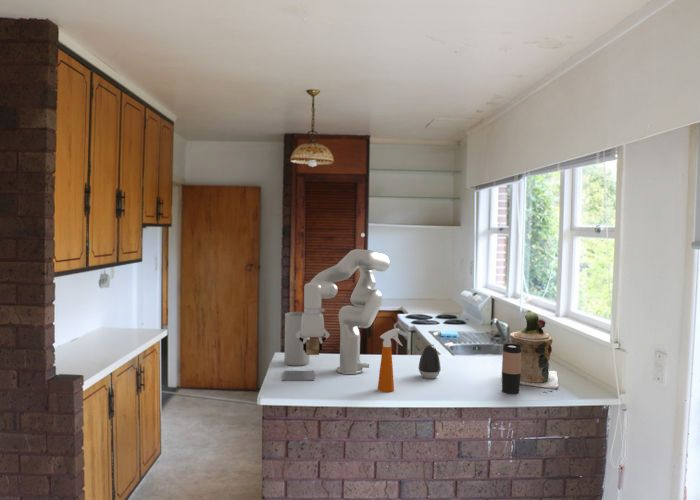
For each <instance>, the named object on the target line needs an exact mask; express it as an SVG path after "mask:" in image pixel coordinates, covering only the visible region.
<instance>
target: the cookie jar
mask: <svg viewBox="0 0 700 500" xmlns="http://www.w3.org/2000/svg"><path fill="white" fill-rule="evenodd" d="M524 319H525V320H526V321H525V322H526V326H525V328H522V329H521V330H519V331H514V332H511V333H510V334H509V338H510V344H517V345H520V346H521V374H520V386H521V385H522V386H527V387H528V386H530V387H537V388H544V389H550V390H553V389H558V387H559V386H560V383H559V377H558V372H557V370H550V362H549V361H550V360H551V359H550V357H551V354H552V351H553V349H552V348H553V347H552V343H553V338H552V337H551V335H550V333H546V332H545V331H544V330H543V328H545V326H546V324H547V323H546V320H544V319H543V318H539V315H538V314H537V313H536V312H533V311H531V310H530V309H528V310H527V311H526V313H525V315H524Z"/></svg>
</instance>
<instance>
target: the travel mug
mask: <svg viewBox="0 0 700 500" xmlns="http://www.w3.org/2000/svg"><path fill="white" fill-rule="evenodd" d="M501 363H502V366H501V391H502V393H505V394H508V395H517V394H518V395H519V394H520V389H521V384H520V374H521V346H520V345H517V344H511V343H504V344H503V345H502V362H501Z"/></svg>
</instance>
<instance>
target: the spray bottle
mask: <svg viewBox="0 0 700 500" xmlns="http://www.w3.org/2000/svg"><path fill="white" fill-rule="evenodd" d="M399 332H401V330H400V328H392V329H391V330H390V329H389V330H388V331H386V332H384V333H382V334H381V335H380V336H379V338H380V339H382V340H383V341H382V349H381V356H380V367H379V376H378V382H377V390H378V392H381V393H393V392H394V390H395V382H394V381H395V380H394V370H393V369H394V368H393V353H392V341H391V339H393V340H394V341H396V343H397V344H398V345H400V346H402V347H403V344H402V342H401V341H400V339H399V336H398V335H399V334H398V333H399Z"/></svg>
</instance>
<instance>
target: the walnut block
mask: <svg viewBox="0 0 700 500" xmlns="http://www.w3.org/2000/svg"><path fill="white" fill-rule="evenodd" d="M306 355H309V356H320V353H319V339H310V340H306Z"/></svg>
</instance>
